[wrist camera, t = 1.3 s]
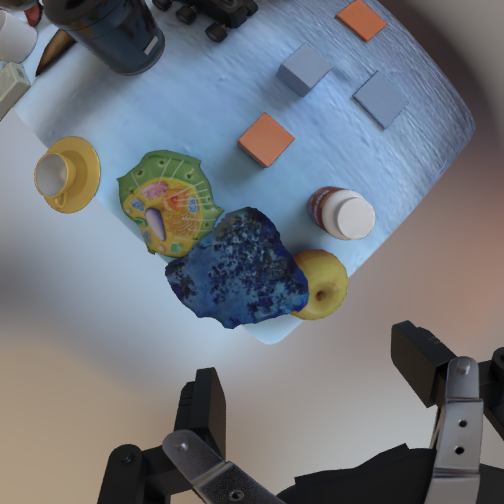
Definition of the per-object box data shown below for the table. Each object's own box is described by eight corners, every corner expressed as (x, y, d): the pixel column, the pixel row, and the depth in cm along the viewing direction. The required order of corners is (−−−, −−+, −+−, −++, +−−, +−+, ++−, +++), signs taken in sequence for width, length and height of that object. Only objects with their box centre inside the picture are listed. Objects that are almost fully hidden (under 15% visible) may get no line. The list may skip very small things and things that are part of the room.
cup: (39, 144, 37) (20, 143, 32) (100, 129, 37) (83, 125, 32) (44, 216, 40) (25, 222, 35) (104, 209, 40) (88, 214, 35)
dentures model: (62, -13, 26) (29, -2, 25) (50, -3, 25) (17, 8, 24) (67, 9, 31) (36, 18, 31) (57, 20, 30) (25, 29, 29)
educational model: (188, 131, 38) (179, 127, 33) (244, 231, 42) (243, 241, 37) (115, 179, 40) (98, 182, 35) (169, 271, 44) (159, 285, 39)
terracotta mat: (335, 16, 34) (336, 14, 34) (357, 0, 33) (358, -2, 33) (366, 42, 36) (367, 41, 35) (386, 25, 35) (387, 23, 34)
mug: (44, 36, 31) (12, 17, 21) (17, 71, 32) (-18, 58, 22) (20, 17, 29) (-8, 0, 19) (-4, 49, 30) (-35, 37, 20)
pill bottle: (312, 181, 41) (337, 184, 30) (351, 191, 42) (386, 198, 31) (303, 224, 43) (325, 240, 32) (342, 232, 43) (373, 250, 33)
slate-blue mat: (352, 96, 38) (353, 95, 38) (377, 70, 37) (379, 69, 37) (384, 129, 40) (386, 129, 39) (407, 103, 39) (409, 102, 38)
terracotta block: (237, 144, 39) (237, 140, 35) (261, 119, 39) (264, 111, 34) (264, 168, 40) (268, 167, 36) (288, 142, 40) (295, 138, 35)
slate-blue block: (276, 75, 37) (281, 63, 32) (298, 55, 36) (305, 41, 31) (302, 97, 38) (310, 88, 33) (323, 76, 37) (334, 66, 32)
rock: (252, 196, 34) (256, 195, 35) (152, 270, 39) (159, 266, 41) (321, 302, 35) (322, 296, 36) (214, 356, 40) (218, 349, 42)
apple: (268, 247, 41) (286, 275, 34) (333, 235, 42) (361, 259, 35) (274, 305, 45) (290, 339, 38) (332, 291, 47) (355, 320, 40)
